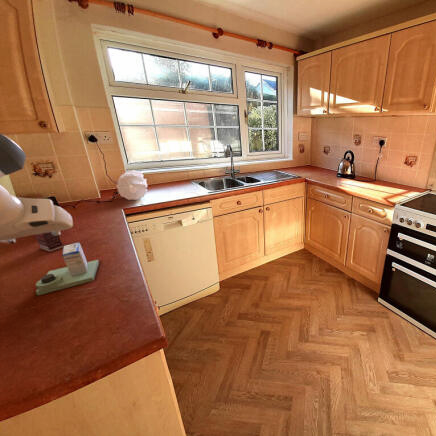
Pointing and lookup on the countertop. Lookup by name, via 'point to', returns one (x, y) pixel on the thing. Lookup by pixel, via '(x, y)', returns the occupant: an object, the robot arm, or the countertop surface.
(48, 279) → the tare button
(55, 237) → the supplement box
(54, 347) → the countertop surface
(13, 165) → the robot arm
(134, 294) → the countertop surface
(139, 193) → the crumpled paper ball
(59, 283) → the scale
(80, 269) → the medicine box
